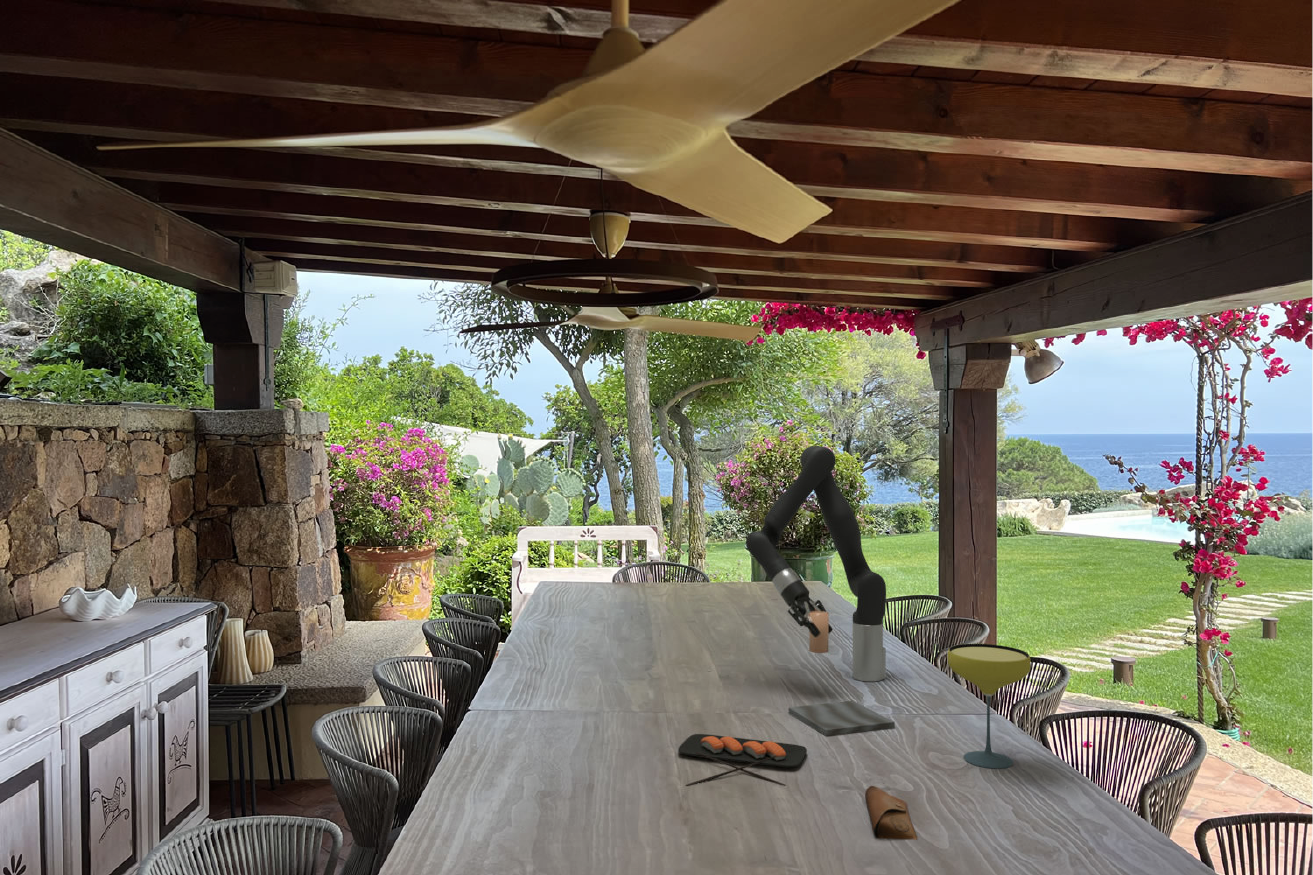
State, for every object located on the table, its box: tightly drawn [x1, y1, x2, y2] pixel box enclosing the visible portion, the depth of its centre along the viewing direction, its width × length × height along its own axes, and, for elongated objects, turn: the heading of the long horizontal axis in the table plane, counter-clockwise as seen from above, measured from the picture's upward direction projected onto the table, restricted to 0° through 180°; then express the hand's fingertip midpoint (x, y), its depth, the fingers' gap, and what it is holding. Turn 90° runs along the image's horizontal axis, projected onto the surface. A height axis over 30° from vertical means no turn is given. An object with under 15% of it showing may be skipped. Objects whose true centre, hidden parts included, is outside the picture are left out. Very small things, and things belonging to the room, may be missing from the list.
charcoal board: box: [788, 700, 896, 737], centre depth 237 cm, size 20×20×2 cm
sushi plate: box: [677, 733, 808, 787], centre depth 203 cm, size 29×30×4 cm
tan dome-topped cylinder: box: [808, 611, 830, 654], centre depth 259 cm, size 6×6×11 cm
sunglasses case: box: [864, 785, 918, 841], centre depth 175 cm, size 18×7×7 cm
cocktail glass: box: [946, 643, 1032, 770], centre depth 207 cm, size 18×18×25 cm
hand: (824, 633), depth 257 cm, fingers closed on tan dome-topped cylinder, 5 cm apart
